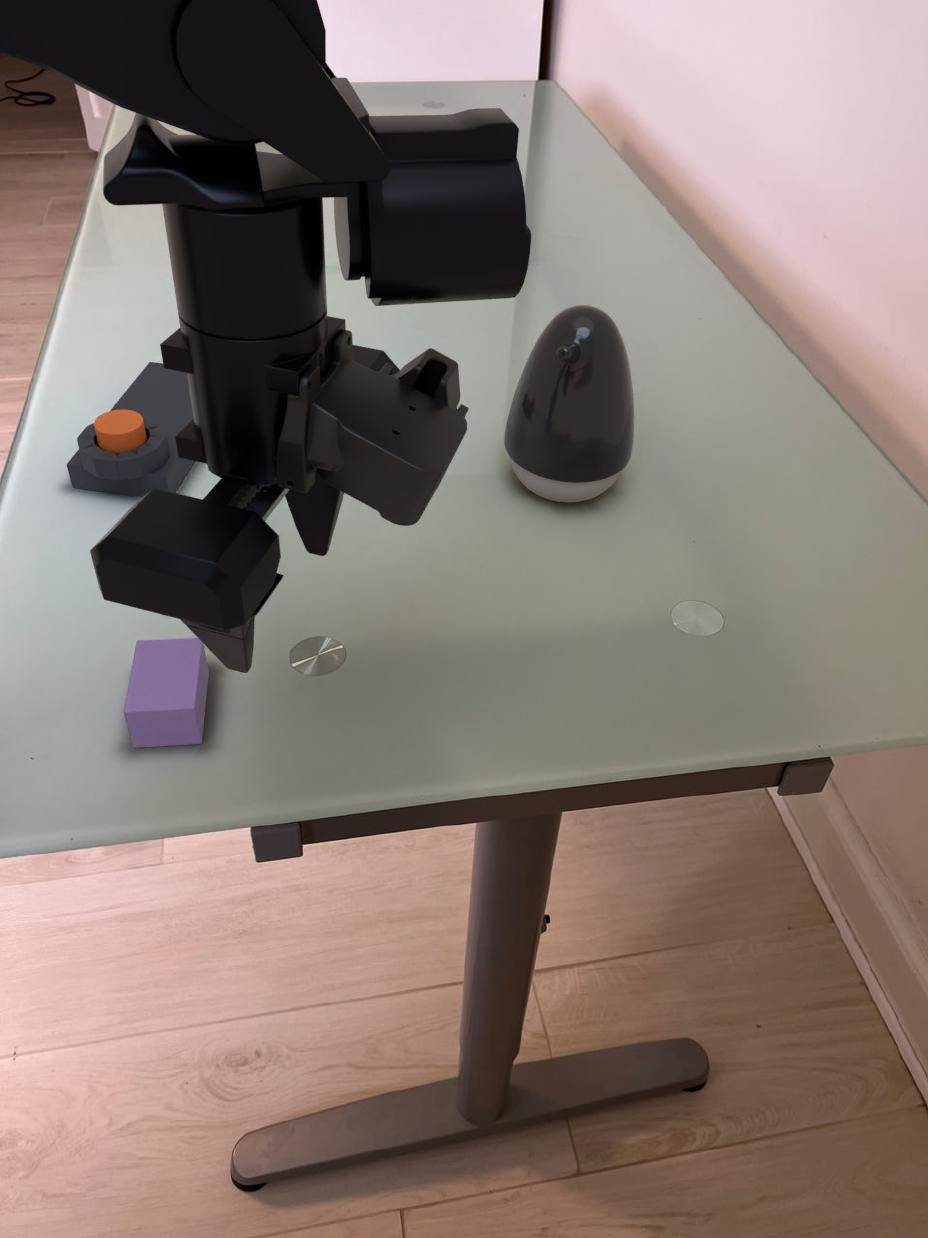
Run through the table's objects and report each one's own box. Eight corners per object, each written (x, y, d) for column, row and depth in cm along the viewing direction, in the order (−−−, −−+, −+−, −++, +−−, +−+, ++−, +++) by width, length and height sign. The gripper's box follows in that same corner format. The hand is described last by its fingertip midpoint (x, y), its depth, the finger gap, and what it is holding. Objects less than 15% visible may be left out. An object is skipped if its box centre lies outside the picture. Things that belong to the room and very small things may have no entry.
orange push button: (136, 456, 75) (132, 436, 74) (90, 450, 75) (85, 430, 74) (154, 431, 78) (150, 412, 76) (110, 426, 78) (105, 406, 77)
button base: (164, 509, 76) (156, 465, 73) (65, 496, 77) (53, 452, 74) (238, 393, 90) (233, 352, 87) (153, 383, 90) (146, 342, 87)
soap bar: (201, 744, 59) (194, 708, 57) (133, 748, 59) (123, 712, 56) (209, 673, 63) (202, 637, 61) (145, 676, 63) (136, 639, 61)
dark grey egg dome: (481, 501, 79) (494, 322, 69) (524, 438, 86) (542, 268, 76) (604, 535, 76) (636, 354, 66) (637, 467, 84) (671, 295, 73)
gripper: (360, 475, 30) (366, 792, 41) (512, 254, 44) (487, 535, 54) (40, 405, 32) (124, 725, 43) (280, 214, 46) (299, 492, 56)
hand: (281, 607), depth 49 cm, fingers open, 9 cm apart
